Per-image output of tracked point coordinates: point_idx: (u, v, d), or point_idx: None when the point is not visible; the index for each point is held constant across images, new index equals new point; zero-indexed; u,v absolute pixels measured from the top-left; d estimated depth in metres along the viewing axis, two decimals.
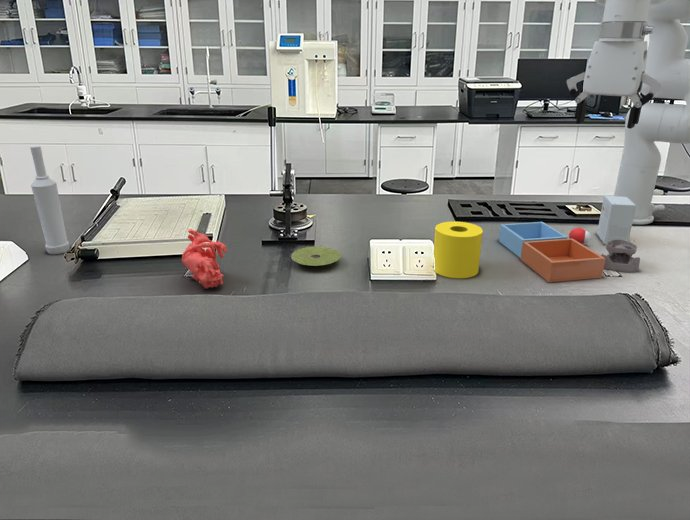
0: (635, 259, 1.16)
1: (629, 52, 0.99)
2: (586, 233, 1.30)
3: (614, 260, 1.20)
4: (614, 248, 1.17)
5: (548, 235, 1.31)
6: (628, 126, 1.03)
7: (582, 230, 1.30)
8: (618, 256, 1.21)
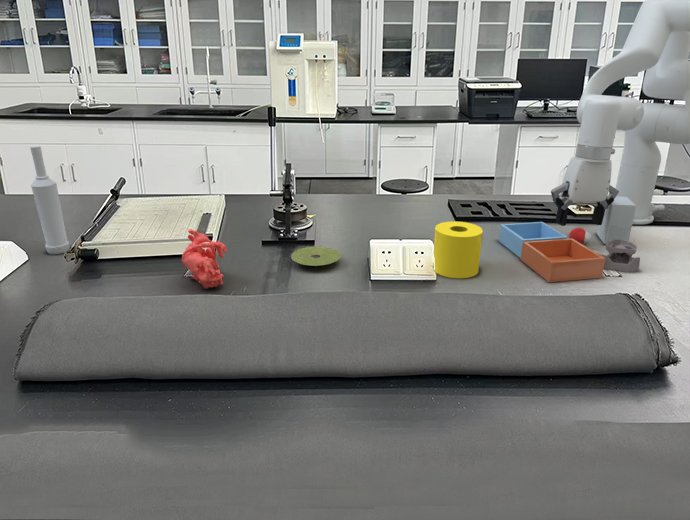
0: (635, 259, 1.16)
1: (605, 169, 1.23)
2: (586, 233, 1.30)
3: (614, 260, 1.20)
4: (614, 248, 1.17)
5: (548, 235, 1.31)
6: (600, 223, 1.28)
7: (582, 230, 1.30)
8: (618, 256, 1.21)
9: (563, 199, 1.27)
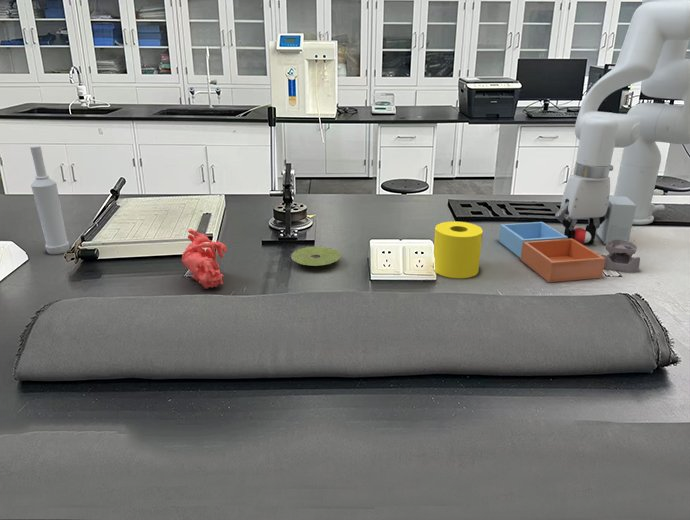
0: (635, 259, 1.16)
1: (604, 186, 1.25)
2: (586, 233, 1.30)
3: (614, 260, 1.20)
4: (614, 248, 1.17)
5: (548, 235, 1.31)
6: (591, 242, 1.31)
7: (582, 230, 1.30)
8: (618, 256, 1.21)
9: (568, 219, 1.30)
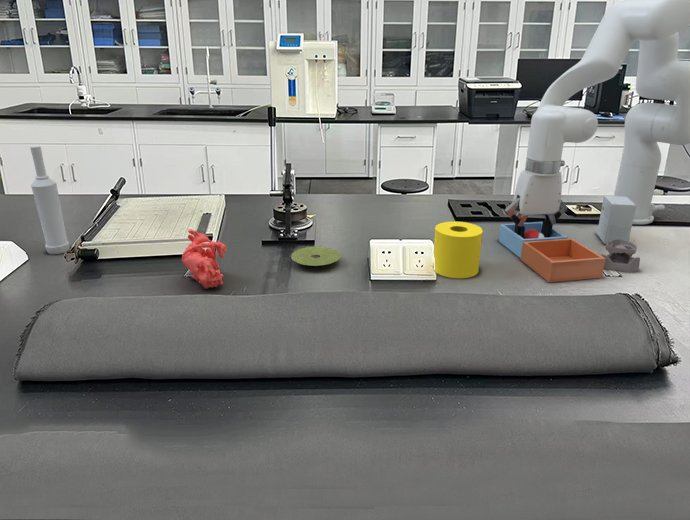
0: (635, 259, 1.16)
1: (555, 182, 1.22)
2: (539, 235, 1.27)
3: (614, 260, 1.20)
4: (614, 248, 1.17)
5: None
6: None
7: (535, 231, 1.27)
8: (618, 256, 1.21)
9: (518, 215, 1.27)
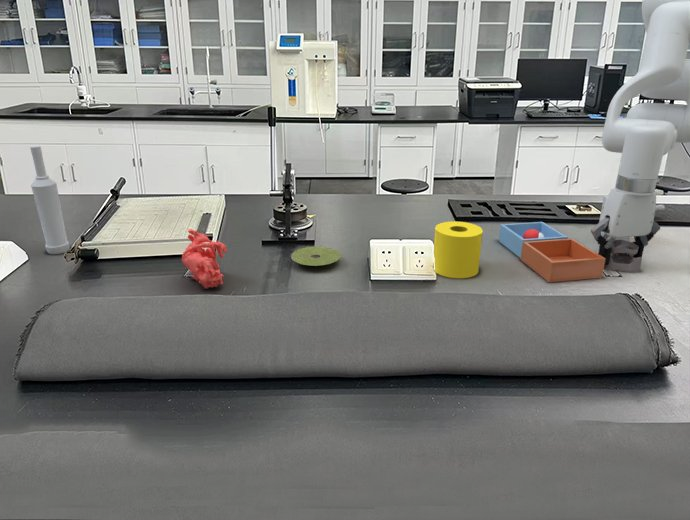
0: (637, 259, 1.16)
1: (650, 202, 1.12)
2: (539, 235, 1.27)
3: (615, 260, 1.20)
4: (616, 248, 1.17)
5: (548, 235, 1.31)
6: None
7: (535, 231, 1.27)
8: (619, 256, 1.21)
9: (604, 236, 1.17)
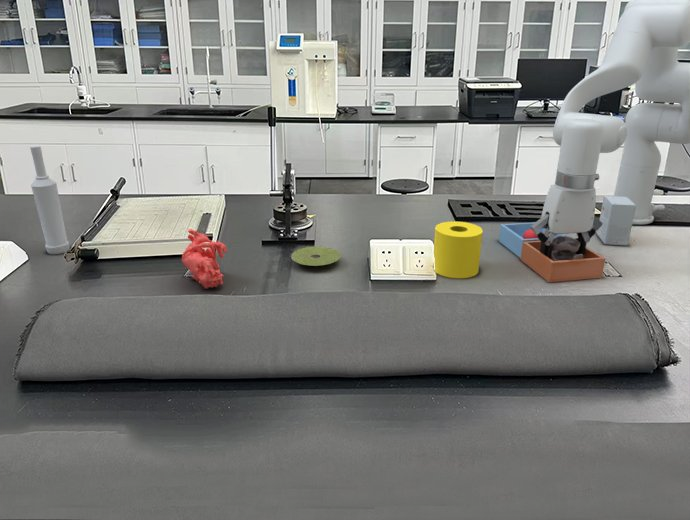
0: (578, 256, 1.14)
1: (589, 198, 1.10)
2: None
3: (559, 257, 1.18)
4: (557, 245, 1.15)
5: (548, 235, 1.31)
6: None
7: None
8: (563, 253, 1.19)
9: (546, 232, 1.15)
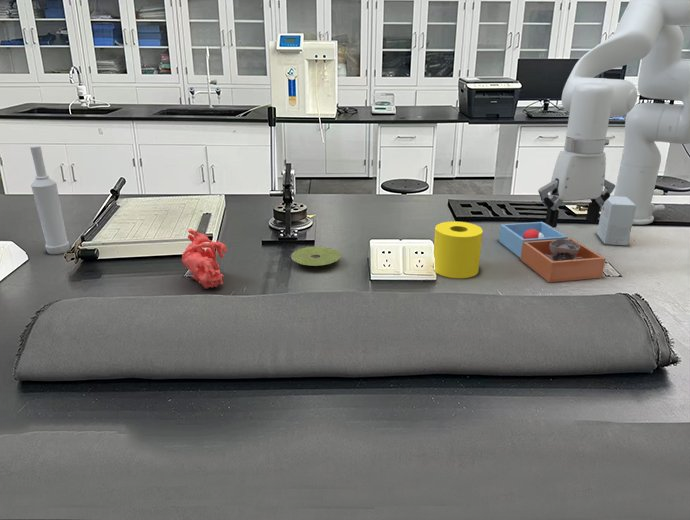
0: None
1: (599, 163, 1.09)
2: (539, 235, 1.27)
3: (558, 260, 1.19)
4: (557, 248, 1.15)
5: (548, 235, 1.31)
6: (595, 222, 1.16)
7: (535, 231, 1.27)
8: (562, 256, 1.20)
9: (553, 198, 1.14)
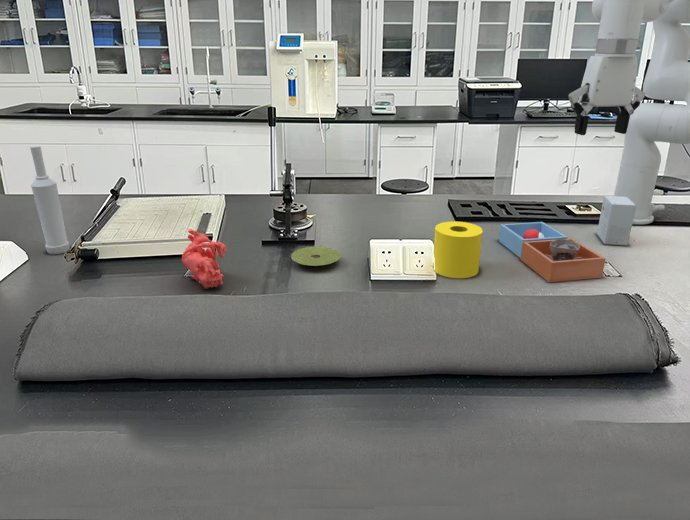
0: None
1: (630, 66, 1.08)
2: (539, 235, 1.27)
3: (558, 260, 1.19)
4: (557, 248, 1.15)
5: (548, 235, 1.31)
6: (624, 131, 1.15)
7: (535, 231, 1.27)
8: (562, 256, 1.20)
9: (582, 105, 1.13)
